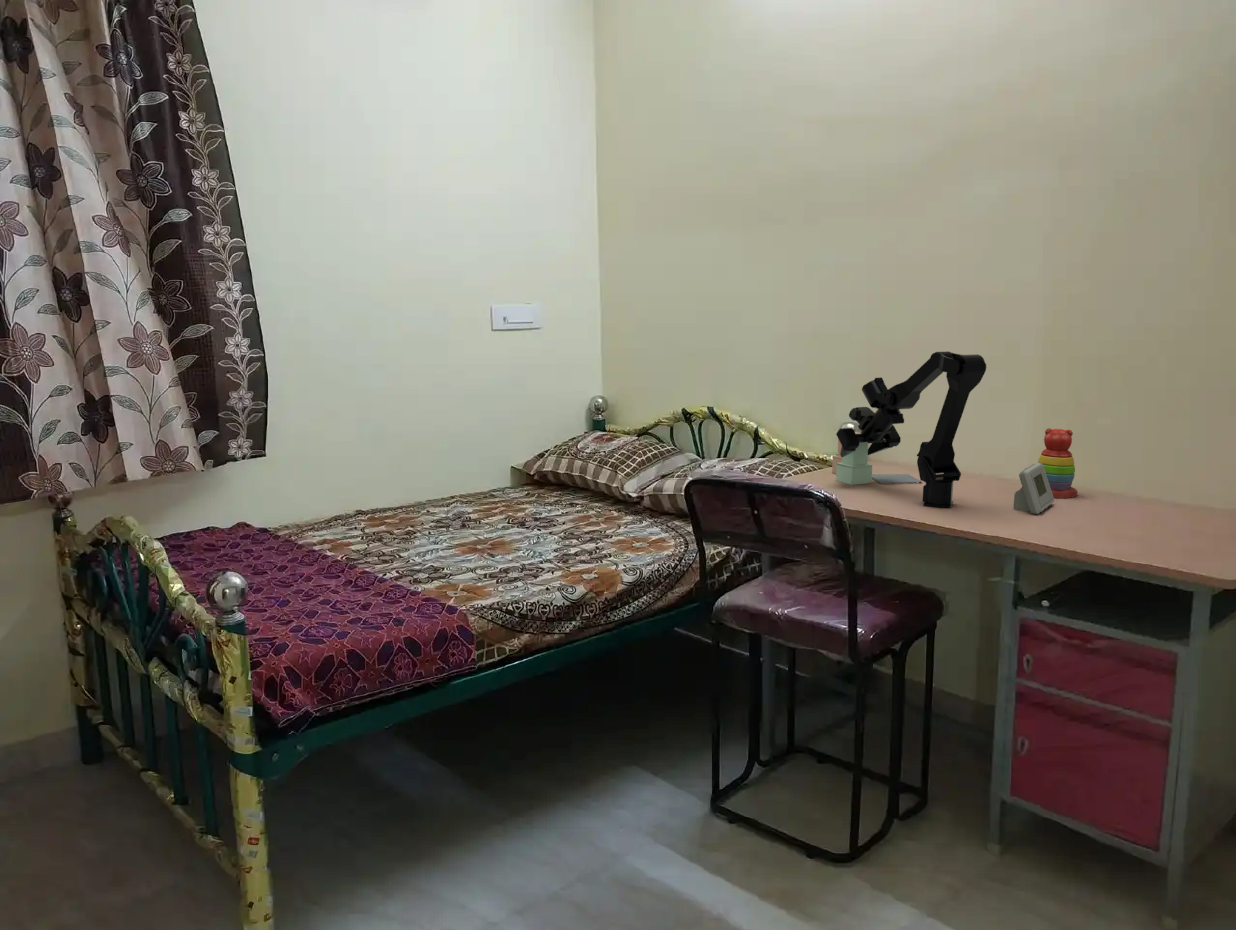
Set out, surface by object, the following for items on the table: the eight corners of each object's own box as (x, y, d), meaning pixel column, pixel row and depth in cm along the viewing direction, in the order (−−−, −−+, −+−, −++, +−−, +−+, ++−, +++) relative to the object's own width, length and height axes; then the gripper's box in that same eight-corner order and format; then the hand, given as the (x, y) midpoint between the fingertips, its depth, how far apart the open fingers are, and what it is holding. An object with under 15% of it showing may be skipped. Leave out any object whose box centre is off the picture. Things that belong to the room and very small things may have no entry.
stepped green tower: (871, 482, 266) (873, 439, 263) (851, 484, 263) (853, 441, 261) (855, 478, 272) (857, 436, 270) (836, 480, 269) (837, 437, 267)
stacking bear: (1078, 493, 250) (1083, 427, 247) (1073, 500, 241) (1079, 432, 238) (1034, 489, 255) (1039, 425, 252) (1028, 496, 247) (1033, 429, 244)
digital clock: (1037, 516, 224) (1040, 473, 222) (1000, 510, 230) (1003, 468, 228) (1066, 506, 234) (1069, 464, 232) (1030, 501, 241) (1033, 460, 239)
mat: (922, 483, 264) (922, 481, 264) (880, 483, 264) (880, 482, 264) (907, 475, 276) (907, 474, 276) (867, 476, 276) (867, 474, 276)
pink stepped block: (865, 474, 278) (867, 433, 276) (846, 476, 275) (848, 434, 273) (851, 471, 284) (852, 430, 282) (832, 472, 281) (833, 431, 279)
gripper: (896, 396, 262) (868, 430, 274) (841, 399, 255) (816, 434, 267) (913, 428, 256) (885, 461, 268) (859, 432, 249) (832, 466, 261)
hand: (854, 454), depth 266 cm, fingers open, 9 cm apart
